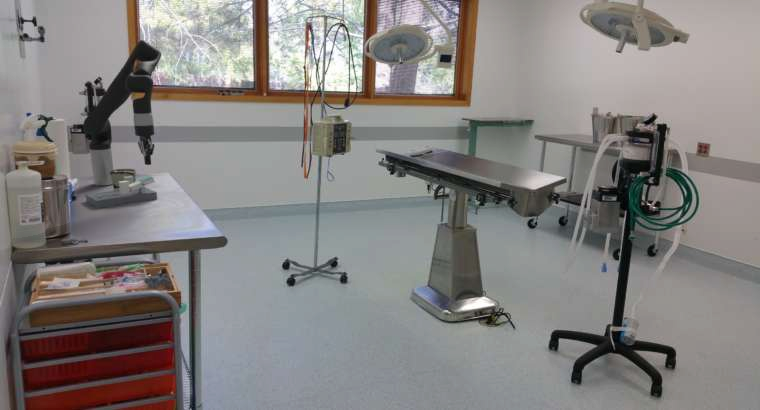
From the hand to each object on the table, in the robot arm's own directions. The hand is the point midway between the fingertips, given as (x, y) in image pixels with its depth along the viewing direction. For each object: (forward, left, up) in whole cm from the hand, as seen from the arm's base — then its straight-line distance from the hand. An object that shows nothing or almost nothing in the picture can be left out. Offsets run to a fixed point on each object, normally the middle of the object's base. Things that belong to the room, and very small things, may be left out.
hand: (148, 164), depth 232 cm
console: (-5, -11, -15) cm, 19 cm away
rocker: (0, -4, -8) cm, 9 cm away
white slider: (0, -11, -12) cm, 16 cm away
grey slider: (-9, -6, -12) cm, 16 cm away
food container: (-21, -3, -15) cm, 26 cm away
